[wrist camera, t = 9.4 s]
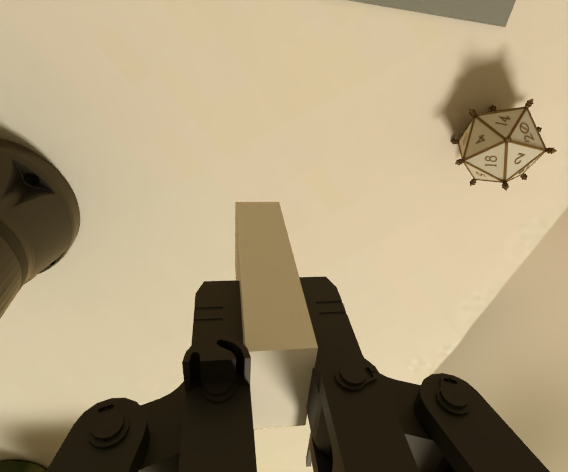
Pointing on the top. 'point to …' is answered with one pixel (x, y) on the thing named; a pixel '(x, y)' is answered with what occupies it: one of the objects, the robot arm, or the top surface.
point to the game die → (501, 144)
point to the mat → (456, 9)
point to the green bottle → (20, 467)
